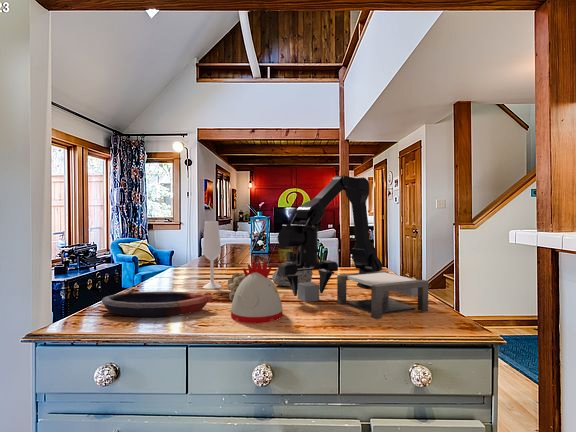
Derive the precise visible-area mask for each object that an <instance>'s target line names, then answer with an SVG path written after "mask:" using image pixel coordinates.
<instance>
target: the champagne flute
mask: <svg viewBox="0 0 576 432" xmlns="http://www.w3.org/2000/svg"><path fill="white" fill-rule="evenodd" d="M219 227H220V226H219V221H217V220H216V221H215V220H206V221H204V229H203V241H202V250H201V251H202V254H203V256H204V257H205V258H206V259H207V260H208V261H209V263H210V264H209V265H210V267H209V268H210V273H209V275H210V280H209V282H208V283H206V284H204V286H202V288H203V289H206V290H207V289H209V290H211V289H212V290H213V289H214V290H215V289H220V288H222V285H220V284H219V283H217V282H215V281H214V280H215V279H214V278H215V276H214V274H215V273H214V272H215V271H214V268H215V267H214V263H215V260H216V259H217V258H218V257H219V256H220V255H221V252H222V245H221V237H220V236H221V235H220V228H219Z"/></svg>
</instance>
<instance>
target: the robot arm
mask: <svg viewBox="0 0 576 432" xmlns="http://www.w3.org/2000/svg"><path fill="white" fill-rule="evenodd" d="M342 191H345V196H346V198H347V199H348V201H349V203H350V204H351V209H352V217H353V219H352V220H353V227H354V228H353V229H354V235H355V236H354V237H355V245H354V247H353V248H351V250H350V251H351V260H352V261H353V263H354V264H353V265H354V267H355V269H356V270H358V273H365V272H376V271H383V266H384V265H383V262H382V261H381V260H380V259H379V257H378V255H377V250H376V247H375V245H374V244H373V243H372V241H371V238H370V227H369V220H368V210H367V200H368V198H369V196H370V183H369V180H368V179H367V178H366V177H351V176H348V175H344V174H343V175H335V176H333V177H332V179H331V180H330V182H328V184H326V186H325V187H324V188H323V189H322V190H321V191H320V192H319V193H318V194H317V195H316V196H315V197H314V198H312V199H311V200H308V201H305V202H304V203H302V204H301V205H300V206H298V208H297V209H296V211H295V212H296V213H295V214H294V216H293V218H292V220H291V222H290V223H289V224H282V225H281V229H280V230H279V232H278V234H277V242H278V244H279V245H280V247H281V248H283V249H284V248H294V247H297V249H296V252H294V251H287V252H286V262H292V264H291V263H284V262H282V263H283V264H282V263H280V264H279V265H278V267H277V269H278V272H279V273H281V274H282V275H284V276H286V277H287V278H288V280H289V282H290V285H291V286H290V287H291V292H292V293H293V296H294V297H298V275H296V273H297V271H306V270H312V271H316V270H318V274H319V294H323V293H324V291H325V289H326V287H327V284H328V282H329V281H330V279H331V277H332V275H335V272H337V271H339V264H338V263H337V262H336V261H333V260H330V259H326V260H320V261H318V257H319V256H318V255H319V254H318V253H321V252H320V248H319V246H318V242H319V241H318V240H319V239H318V238H319V237H318V236H319V235H318V233H319V232H318V231H323V228H322V227H321V226H320V224H319V223H320V222H321V219H323V217H324V215H325V210H326V209H327V207H328V206H329V205H330V204H331V203H332V202H333V200H334V199H335V198H337V197H338V195H339V194H340V193H341V192H342ZM303 267H304V268H303ZM356 286H357V287H361V288H364V289H371V286H368V285H365V284H362V283H358V282H357V283H356Z"/></svg>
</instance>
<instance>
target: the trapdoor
mask: <svg viewBox="0 0 576 432" xmlns="http://www.w3.org/2000/svg"><path fill="white" fill-rule="evenodd" d="M347 279H349V280H348V281H353V282H356V283H357V284H358V283H362V284H365V285H368V286H371V285H379V284H388V283H398V282H407V281H416V280H417V279H415V278H411V277H406V276H401V275H398V274H393V273H390V272H389V273H385V272H383V273H373V274H362V275H351V276H347ZM393 291H394V292H396V293H400V294H403V295H407V296H410V297H416V296H418V288H410V289H401V290H393ZM393 291H392V292H393Z"/></svg>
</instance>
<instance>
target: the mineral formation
mask: <svg viewBox="0 0 576 432" xmlns="http://www.w3.org/2000/svg"><path fill="white" fill-rule="evenodd" d="M245 277H246V276H245V274H244V272H240V273H239V272H238V271H236V272H234V273H233V274H232V275H231V277H230V278H229V279H228V280H227V285H228V287H227V289H228V290H229V291H231V292H230V293H229V295H228V297H229V300H230V301H231V302H233V298H234V295H235V292H236V290H237V288H238V286H239V284H240V283H241V282H242V280H243V279H244V278H245Z"/></svg>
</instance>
